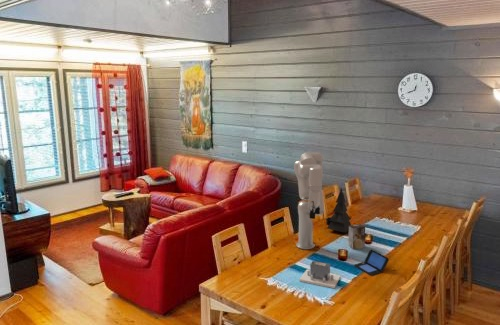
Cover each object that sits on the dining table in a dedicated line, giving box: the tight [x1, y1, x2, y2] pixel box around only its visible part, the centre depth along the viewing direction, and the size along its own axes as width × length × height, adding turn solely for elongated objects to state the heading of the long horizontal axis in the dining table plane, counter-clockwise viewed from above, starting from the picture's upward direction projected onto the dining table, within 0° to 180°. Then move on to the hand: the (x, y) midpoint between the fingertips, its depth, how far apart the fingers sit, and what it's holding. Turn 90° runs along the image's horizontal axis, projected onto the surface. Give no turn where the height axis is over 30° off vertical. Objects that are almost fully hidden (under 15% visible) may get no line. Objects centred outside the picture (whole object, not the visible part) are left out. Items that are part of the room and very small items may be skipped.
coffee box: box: [347, 223, 366, 250], centre depth 266 cm, size 9×6×16 cm
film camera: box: [325, 215, 333, 226], centre depth 314 cm, size 15×10×9 cm, turn 88°
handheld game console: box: [353, 249, 390, 277], centre depth 235 cm, size 16×13×9 cm
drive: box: [309, 260, 331, 281], centre depth 223 cm, size 5×10×8 cm, turn 64°
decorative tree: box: [326, 187, 352, 233], centre depth 294 cm, size 15×15×35 cm
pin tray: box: [298, 268, 341, 289], centre depth 224 cm, size 14×20×4 cm
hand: (314, 216), depth 234 cm, fingers open, 9 cm apart
